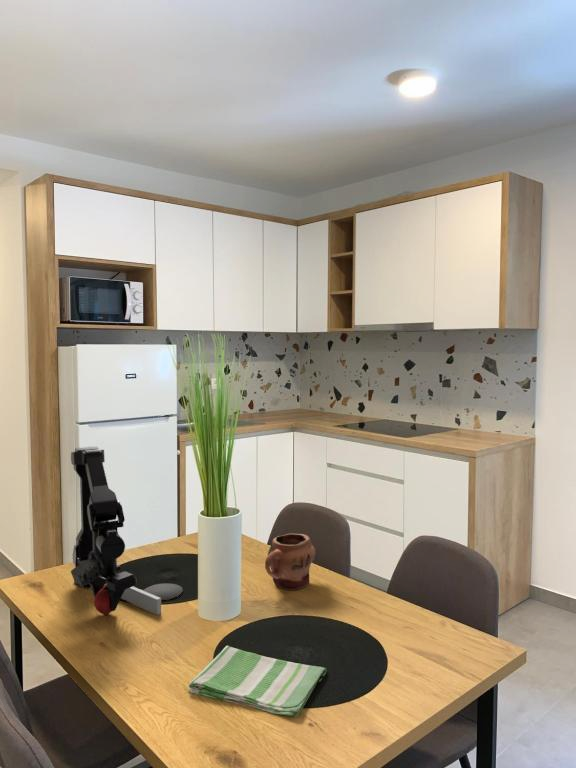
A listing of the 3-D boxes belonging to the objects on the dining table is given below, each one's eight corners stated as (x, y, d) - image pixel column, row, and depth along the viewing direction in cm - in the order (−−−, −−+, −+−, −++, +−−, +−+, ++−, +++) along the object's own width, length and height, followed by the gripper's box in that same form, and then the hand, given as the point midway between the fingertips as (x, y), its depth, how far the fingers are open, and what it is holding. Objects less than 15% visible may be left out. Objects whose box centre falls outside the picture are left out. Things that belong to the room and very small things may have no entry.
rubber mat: (134, 594, 167) (134, 592, 167) (165, 582, 176) (165, 580, 176) (159, 604, 160) (159, 602, 160) (190, 591, 169) (190, 590, 169)
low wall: (111, 594, 167) (111, 580, 167) (115, 593, 168) (115, 578, 168) (157, 614, 154) (157, 599, 154) (161, 613, 155) (160, 598, 155)
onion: (113, 620, 151) (113, 589, 151) (91, 620, 152) (90, 588, 151) (120, 610, 157) (120, 580, 157) (98, 610, 157) (98, 579, 157)
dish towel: (297, 723, 111) (297, 708, 111) (185, 696, 119) (185, 683, 119) (326, 674, 127) (326, 661, 127) (227, 653, 136) (227, 642, 136)
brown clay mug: (287, 603, 161) (287, 552, 160) (250, 593, 168) (250, 544, 167) (324, 579, 178) (324, 532, 177) (289, 571, 184) (289, 526, 184)
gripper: (55, 547, 153) (57, 607, 154) (97, 564, 141) (98, 629, 142) (94, 536, 162) (96, 593, 163) (137, 552, 150) (138, 613, 151)
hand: (106, 607), depth 154 cm, fingers closed on onion, 6 cm apart
